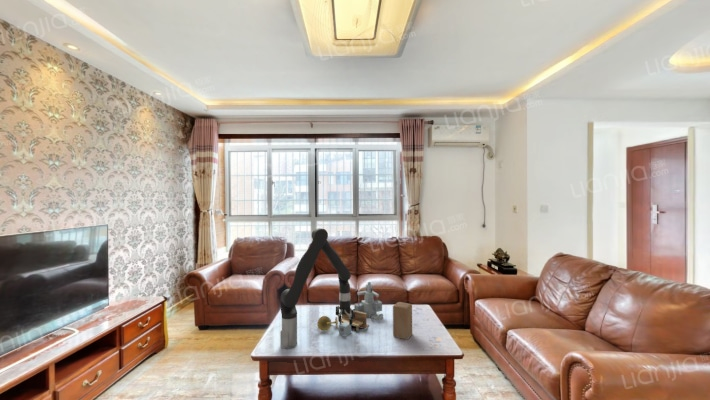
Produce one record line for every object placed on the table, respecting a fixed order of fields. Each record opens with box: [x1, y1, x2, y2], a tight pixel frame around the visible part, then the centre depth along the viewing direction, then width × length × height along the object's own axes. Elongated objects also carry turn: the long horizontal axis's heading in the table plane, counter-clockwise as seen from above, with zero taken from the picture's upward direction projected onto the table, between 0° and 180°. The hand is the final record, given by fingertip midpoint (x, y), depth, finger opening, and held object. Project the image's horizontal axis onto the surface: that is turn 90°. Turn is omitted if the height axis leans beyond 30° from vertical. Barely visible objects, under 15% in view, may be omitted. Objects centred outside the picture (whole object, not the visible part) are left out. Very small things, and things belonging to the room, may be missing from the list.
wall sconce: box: [316, 315, 339, 332], centre depth 193 cm, size 14×10×25 cm
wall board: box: [339, 311, 370, 332], centre depth 202 cm, size 11×20×10 cm, turn 57°
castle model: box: [353, 281, 384, 321], centre depth 218 cm, size 17×17×25 cm
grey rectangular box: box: [338, 322, 352, 337], centre depth 190 cm, size 8×5×6 cm, turn 148°
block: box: [392, 301, 413, 340], centre depth 186 cm, size 10×10×20 cm
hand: (345, 323), depth 190 cm, fingers open, 8 cm apart
